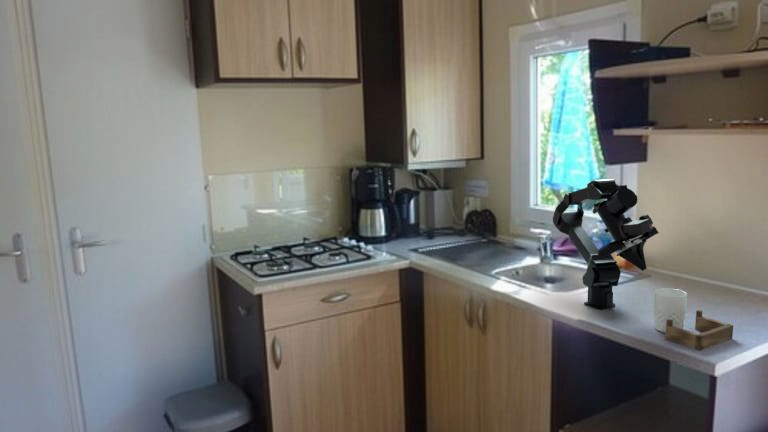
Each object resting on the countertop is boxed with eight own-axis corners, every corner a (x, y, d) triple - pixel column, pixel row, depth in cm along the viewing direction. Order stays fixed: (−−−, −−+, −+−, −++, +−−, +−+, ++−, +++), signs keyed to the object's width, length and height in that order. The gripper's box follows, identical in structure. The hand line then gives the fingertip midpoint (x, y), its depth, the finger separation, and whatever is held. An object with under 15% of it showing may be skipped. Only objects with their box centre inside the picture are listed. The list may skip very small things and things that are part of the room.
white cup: (645, 327, 156) (647, 291, 155) (664, 321, 160) (666, 286, 158) (672, 336, 150) (674, 298, 148) (691, 330, 153) (694, 293, 152)
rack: (665, 339, 148) (666, 320, 147) (697, 328, 155) (699, 309, 154) (699, 350, 140) (700, 330, 140) (732, 338, 147) (733, 319, 146)
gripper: (609, 217, 155) (641, 270, 150) (656, 198, 163) (688, 248, 159) (584, 234, 164) (614, 284, 160) (629, 215, 172) (659, 263, 168)
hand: (644, 269), depth 161 cm, fingers closed
